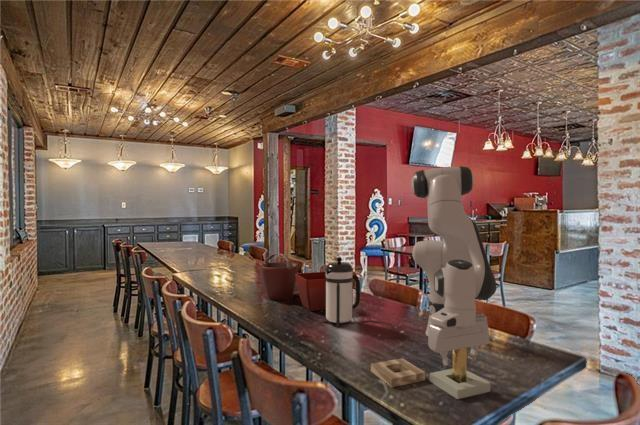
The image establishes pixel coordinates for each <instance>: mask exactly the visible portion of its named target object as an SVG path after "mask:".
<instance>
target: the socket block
mask: <svg viewBox="0 0 640 425" xmlns="http://www.w3.org/2000/svg"><path fill="white" fill-rule="evenodd" d="M429 382H430V383H431V384H433V385H435V386H436V387H438V388H439V389H441V390H442V391H444V392H446V393H447V394H449V395H450V396H452V397H453V398H455V399H457V400H460V399H465V398H469V397H473V396H477V395H482V394H486V393H489V392H491V382H490V381H488V380H486V379H484V378H482V377H481V376H478V375H477V374H475V373H473V372H471V371H469V370H467V382H463V383H457V382H455V381H454V380H452V368H448V369H444V370H438V371H434V372H430V373H429Z"/></svg>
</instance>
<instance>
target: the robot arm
mask: <svg viewBox="0 0 640 425" xmlns="http://www.w3.org/2000/svg"><path fill="white" fill-rule="evenodd" d="M412 175H413V176H412V177H411V178H412V179H411V182H410V183H411V184H410V185H411V186H410V188H411V191H412V192H413V194H414V196H416V197H417V198H420V199H426V198H427V220H428V222H427V223H428V228H429V230H430V231H431V232H432V233H434V234H436V235H438V236H440V237H441V238H442V239H443V240H433V239H432V240H431V239H428V240H421V241H416V243H415V244H414V246H412V247H413V248H412V253H411V254H412V258H413V260H414V262H415V263H416V264H417V265H418V266H419V267H420V268H421V269H422V270H423V271H424V273H425V276H426V277H427V279H428V287H429V300H428V314H429V315H428V319H427V320H428V321H427V326H426V331H425V336H427V345H428V348H429V349H430V350H431V351H433V352H434V353H437V354H439V355H440V357H441V359H442V365H443V366H445V367H448V366H450V365H451V363H452V362H451V359H450V358H448V354H449V351H451V352H452V351H453V350H457V349H461V348H466V347H467V349H468V348H470V350H469V351H470V352H469V353H468V352H467V360H469V361H472V362H473V361H476V358H477V356H476V355H477V354H478V352H479V350H480V346H484V345H488V343H489V341H490V331H489V324H488V316H487V315H485V314H484V312H478V313H477V309H476V308H477V305H476V302H475V301H476V300H477V301H479V300H480V301H487V300H490V298H492V297H493V295H494V294H495V293H496V291H497V280H496V278H495V275H494V272H493V270H492V268H491V265H490V263H489V260H488V256H487V254H486V249H485V246H484V244H483V240H482V236H481V234H480V230H479V227H478V226H477V224H476V222H475V221H474V220H473V219H471V218H469V216H468V215H467V213H466V212H465V210H464V204H463V198H462V196H464V195H468V194H469V193H471V192H472V190H473V187H474V185H475V177H474V174H473V171H472V169H471V168H470V167H468V166H463V165H460V166H442V167H437V168H436V167H435V168H429V169H425V170H424V169H421V170H418V171H415V172H414V173H413V174H412Z"/></svg>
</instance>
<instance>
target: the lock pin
mask: <svg viewBox="0 0 640 425" xmlns="http://www.w3.org/2000/svg"><path fill="white" fill-rule="evenodd" d="M451 353H452V356H451V358H452V362H451V363H452V366H451V369H452V380H454V381H455V382H457V383H463V382H467V371H468V370H467V368H468V366H467V364H468V363H467V360H468V348H467V347H466V348H461V349H457V350H451Z"/></svg>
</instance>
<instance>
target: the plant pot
mask: <svg viewBox="0 0 640 425" xmlns="http://www.w3.org/2000/svg"><path fill="white" fill-rule="evenodd" d="M295 276H296V283H295V284H296V287H297V291H298V296H299V298H300V302H301V304H302V306H303V308H305V309H307V310H308V311H310V312H313V311H314V312H315V311H325V282H326V280H325V277H326V271H315V272H297V274H295Z"/></svg>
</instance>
